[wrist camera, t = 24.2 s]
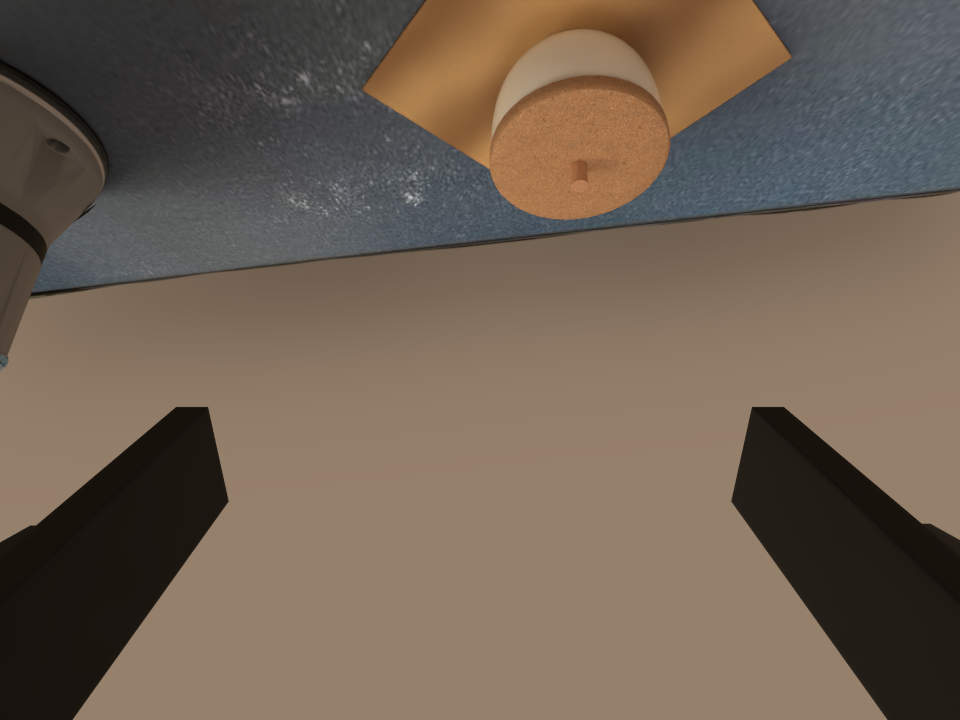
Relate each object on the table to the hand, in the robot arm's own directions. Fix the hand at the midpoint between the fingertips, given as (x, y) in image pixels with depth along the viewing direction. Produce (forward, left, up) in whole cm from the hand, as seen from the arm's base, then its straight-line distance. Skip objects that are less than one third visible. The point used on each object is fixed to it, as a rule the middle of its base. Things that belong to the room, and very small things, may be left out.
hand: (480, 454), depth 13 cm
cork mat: (+12, -5, -28) cm, 31 cm away
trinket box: (+12, -5, -28) cm, 31 cm away
